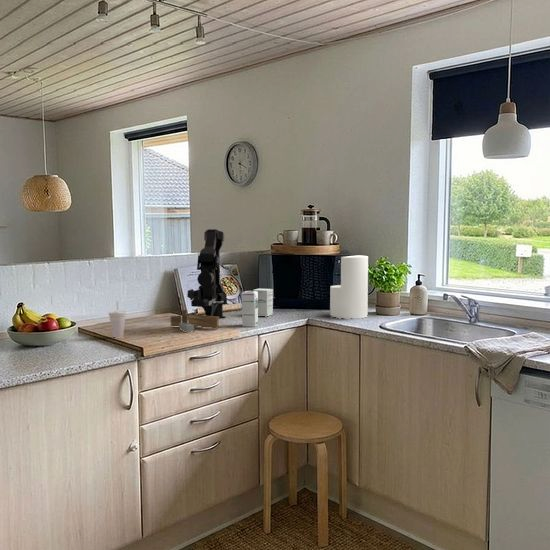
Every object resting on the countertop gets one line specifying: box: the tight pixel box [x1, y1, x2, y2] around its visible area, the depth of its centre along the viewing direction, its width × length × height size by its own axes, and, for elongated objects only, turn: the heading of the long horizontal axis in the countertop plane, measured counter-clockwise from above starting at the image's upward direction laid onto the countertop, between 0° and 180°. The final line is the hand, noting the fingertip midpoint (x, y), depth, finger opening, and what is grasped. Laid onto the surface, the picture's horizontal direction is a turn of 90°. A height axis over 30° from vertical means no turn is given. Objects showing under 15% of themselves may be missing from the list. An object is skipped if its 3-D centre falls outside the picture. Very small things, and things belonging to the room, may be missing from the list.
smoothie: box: [108, 300, 127, 338], centre depth 212 cm, size 6×6×14 cm
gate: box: [187, 313, 220, 329], centre depth 231 cm, size 2×14×5 cm, turn 64°
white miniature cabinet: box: [241, 290, 259, 328], centre depth 237 cm, size 6×6×14 cm
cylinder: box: [329, 255, 369, 319], centre depth 261 cm, size 17×17×28 cm
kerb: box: [178, 321, 195, 333], centre depth 226 cm, size 9×3×3 cm, turn 29°
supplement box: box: [252, 288, 274, 318], centre depth 264 cm, size 7×7×13 cm
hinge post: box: [170, 309, 188, 327], centre depth 234 cm, size 2×7×7 cm, turn 119°
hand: (209, 320), depth 232 cm, fingers closed
